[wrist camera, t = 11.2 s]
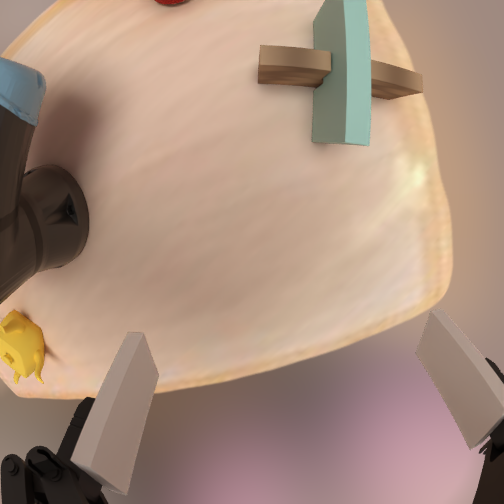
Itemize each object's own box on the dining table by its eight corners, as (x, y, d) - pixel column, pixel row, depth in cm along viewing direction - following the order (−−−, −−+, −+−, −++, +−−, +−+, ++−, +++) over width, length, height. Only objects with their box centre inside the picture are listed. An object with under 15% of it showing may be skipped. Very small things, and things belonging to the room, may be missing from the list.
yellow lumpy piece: (25, 300, 39) (-3, 327, 30) (64, 356, 44) (43, 388, 35) (-1, 312, 40) (-24, 336, 32) (32, 361, 46) (14, 386, 37)
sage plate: (328, 143, 29) (369, 146, 18) (311, 141, 29) (345, 142, 18) (329, 24, 23) (362, -21, 12) (313, 21, 23) (340, -26, 12)
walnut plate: (258, 83, 27) (260, 64, 19) (258, 67, 26) (260, 45, 19) (388, 99, 27) (422, 92, 19) (388, 85, 26) (422, 74, 19)
